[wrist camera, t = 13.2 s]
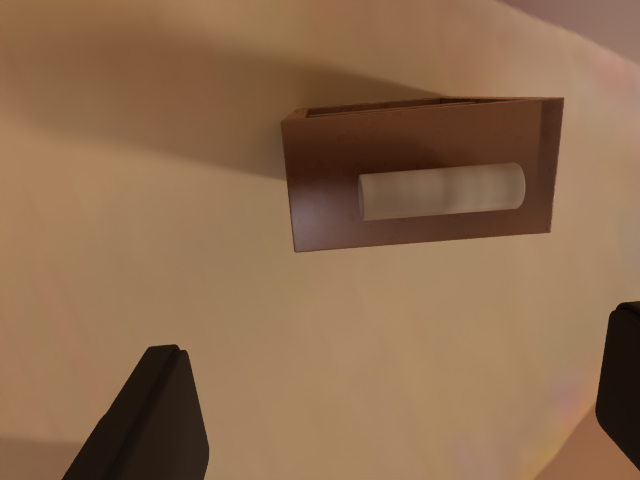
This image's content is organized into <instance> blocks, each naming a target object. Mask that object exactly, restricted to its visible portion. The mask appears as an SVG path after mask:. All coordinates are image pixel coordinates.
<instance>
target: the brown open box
mask: <svg viewBox="0 0 640 480" xmlns="http://www.w3.org/2000/svg"><path fill="white" fill-rule="evenodd" d="M563 107H564V98H553V97H438V98H426V99H414V100H402V101H390V102H378V103H366V104H354V105H342V106H330V107H318V108H306V109H297V110H295V111H294V112H293V113H291V114H290V115H289V116H288V117H286V118H285V119H284V120H282V121H281V130H282V139H283V149H284V158H285V168H286V177H287V187H288V196H289V206H290V215H291V225H292V234H293V244H294V252H309V251H320V250H332V249H345V248H358V247H371V246H383V245H396V244H409V243H422V242H434V241H447V240H460V239H473V238H485V237H498V236H511V235H524V234H540V233H550V232H551V224H552V214H553V204H554V195H555V185H556V175H557V165H558V155H559V146H560V136H561V126H562V116H563Z"/></svg>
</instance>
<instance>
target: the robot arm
mask: <svg viewBox="0 0 640 480" xmlns="http://www.w3.org/2000/svg"><path fill="white" fill-rule="evenodd" d="M595 409H596V410H595V412H596V417H597V420H598V422H599V424H600V426H601V427H602V429H603V430H604V431H605V432H606V433H607V434H608V435H609V437H610V438H611V439H612V440H613V441H614V442H615V443H616V444H617V446H618V447H619V448H620V449H621V450H622V451H623V452H624V454H625V455H626V456H627V457H628V458H629V459H630V460H631V462H632V463H633V464H634V465H635V466H636V467H637V468H638V470H639V471H640V301H636V302H625V303H621V304H619V305H618V306H617V308H616V310H614V311H612V312H611V314H610V316H609V322H608V328H607V335H606V342H605V348H604V355H603V362H602V368H601V375H600V382H599V388H598V395H597V402H596V408H595ZM208 461H209V445H208V440H207V435H206V431H205V427H204V422H203V418H202V413H201V409H200V404H199V400H198V395H197V391H196V387H195V382H194V378H193V373H192V369H191V364H190V360H189V356H188V353H187V351H186V350H180V349H179V347H178V345H176V344H173V345H162V346H151V347H149V348H148V349H147V350H146V352H145V353H144V355H143V356H142V358H141V359H140V361H139V363H138V364H137V366H136V367H135V369H134V370H133V372H132V374H131V375H130V377H129V378H128V380H127V381H126V383H125V385H124V386H123V388H122V389H121V391H120V392H119V394H118V396H117V397H116V399H115V400H114V402H113V404H112V405H111V407H110V408H109V410H108V411H107V413H106V414H105V415H104V416H103V417H102V418H101V419H100V421H99V422H98V424H97V425H96V427H95V428H94V430H93V432H92V433H91V435H90V436H89V438H88V439H87V441H86V442H85V444H84V446H83V447H82V449H81V450H80V452H79V453H78V455H77V456H76V458H75V460H74V461H73V463H72V464H71V466H70V467H69V469H68V470H67V472H66V474H65V475H64V477H63V478H62V480H204V476H205V473H206V469H207V465H208Z"/></svg>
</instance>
